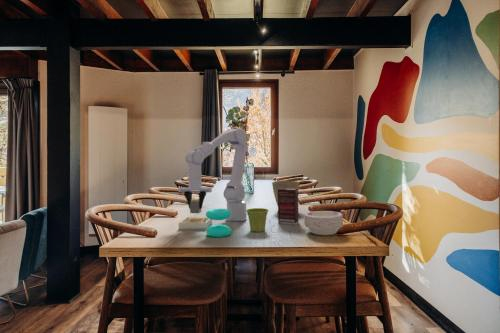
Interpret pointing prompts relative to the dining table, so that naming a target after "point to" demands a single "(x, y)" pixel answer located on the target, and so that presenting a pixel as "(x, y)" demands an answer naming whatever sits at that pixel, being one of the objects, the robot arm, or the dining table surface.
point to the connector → (194, 206)
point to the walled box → (195, 223)
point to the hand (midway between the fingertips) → (195, 208)
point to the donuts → (218, 229)
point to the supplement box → (288, 206)
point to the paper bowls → (323, 222)
